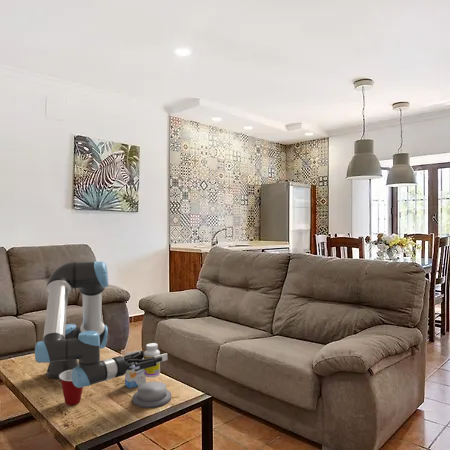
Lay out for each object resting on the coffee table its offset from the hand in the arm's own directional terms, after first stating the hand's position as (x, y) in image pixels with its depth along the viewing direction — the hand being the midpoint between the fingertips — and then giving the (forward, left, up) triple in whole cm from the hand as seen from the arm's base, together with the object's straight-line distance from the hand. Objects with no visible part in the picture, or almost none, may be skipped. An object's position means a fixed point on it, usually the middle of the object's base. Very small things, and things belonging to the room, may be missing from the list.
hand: (161, 354), depth 172 cm
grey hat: (-3, -4, -18) cm, 18 cm away
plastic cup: (-34, -13, -18) cm, 40 cm away
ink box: (-16, +9, -18) cm, 26 cm away
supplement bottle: (-3, -4, -8) cm, 9 cm away
